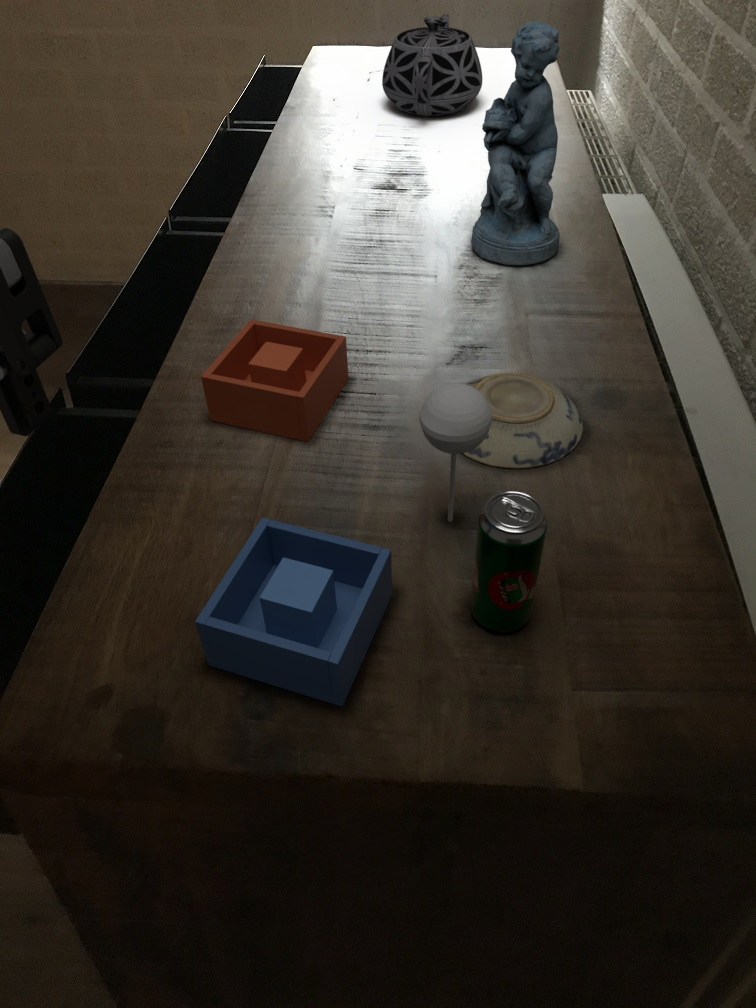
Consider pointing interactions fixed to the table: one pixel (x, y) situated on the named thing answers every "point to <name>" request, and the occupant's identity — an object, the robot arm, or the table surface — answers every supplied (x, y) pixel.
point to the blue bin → (281, 662)
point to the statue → (521, 158)
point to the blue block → (299, 602)
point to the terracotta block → (279, 366)
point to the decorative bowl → (526, 422)
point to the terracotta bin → (270, 405)
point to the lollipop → (455, 423)
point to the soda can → (507, 560)
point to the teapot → (432, 69)
